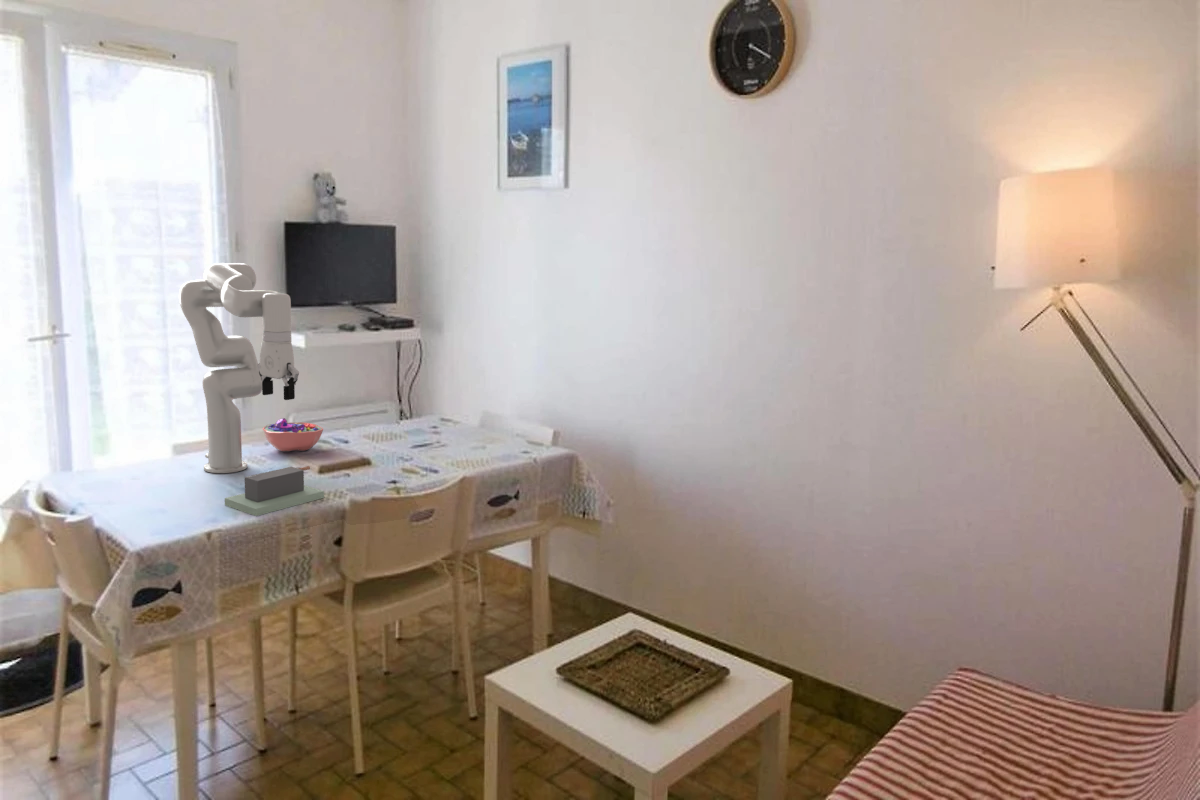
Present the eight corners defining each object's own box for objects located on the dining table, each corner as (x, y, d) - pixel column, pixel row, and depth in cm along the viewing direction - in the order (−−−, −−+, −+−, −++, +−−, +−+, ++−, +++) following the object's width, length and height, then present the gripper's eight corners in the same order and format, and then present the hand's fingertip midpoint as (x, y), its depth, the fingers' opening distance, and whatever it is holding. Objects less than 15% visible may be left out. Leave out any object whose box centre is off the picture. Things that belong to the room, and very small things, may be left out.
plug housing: (245, 498, 234) (244, 477, 233) (303, 483, 250) (302, 463, 249) (257, 502, 231) (256, 481, 230) (315, 487, 247) (315, 467, 246)
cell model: (313, 458, 285) (313, 425, 283) (254, 455, 285) (253, 422, 283) (330, 446, 302) (329, 415, 300) (274, 443, 302) (273, 412, 300)
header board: (224, 505, 234) (224, 482, 233) (292, 488, 252) (292, 466, 251) (256, 516, 226) (255, 492, 225) (323, 497, 244) (323, 475, 243)
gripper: (246, 335, 240) (248, 394, 244) (285, 341, 231) (286, 403, 234) (269, 333, 247) (271, 391, 250) (308, 339, 237) (309, 399, 241)
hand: (278, 396), depth 242 cm, fingers open, 9 cm apart
